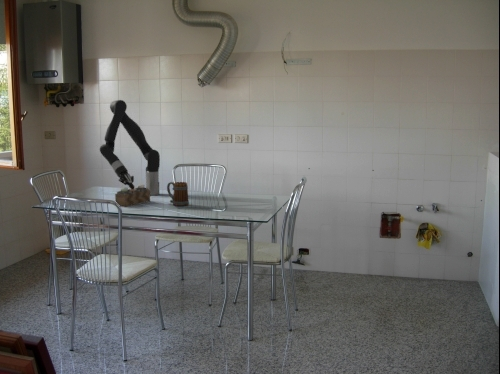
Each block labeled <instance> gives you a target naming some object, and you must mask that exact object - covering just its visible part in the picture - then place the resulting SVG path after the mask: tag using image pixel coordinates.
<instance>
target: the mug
mask: <svg viewBox="0 0 500 374" xmlns="http://www.w3.org/2000/svg"><path fill="white" fill-rule="evenodd" d="M171 185H172V187H173V188H172V191H173V194H172V193H171V189H170V187H171ZM188 189H189V188H188V182H185V181H183V182H182V181H176V182H175V181H173V182H172V181H170V182H168V183H167V185H166V190H167V193H168V196H170V198H171V199H170V200H169V202H170V204H172V205H173V206H174V207H180V208H181V207H182V208H183V207H188V205H189V204H190V203H189V201H190V200H189V190H188Z"/></svg>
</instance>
